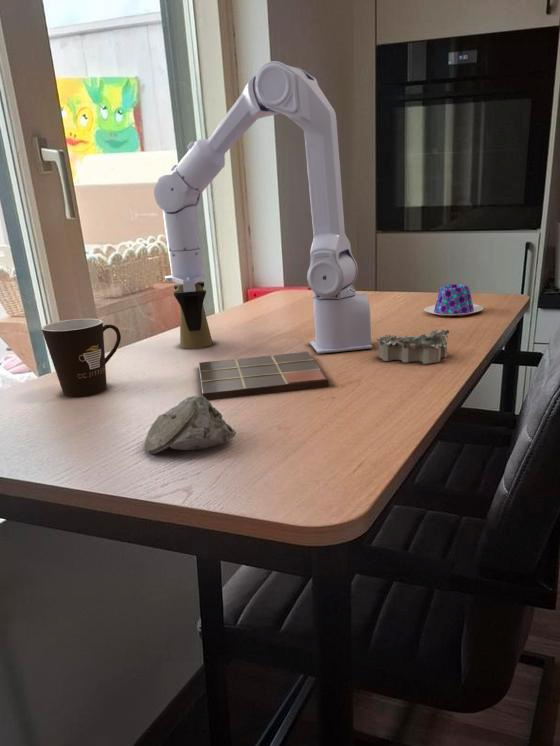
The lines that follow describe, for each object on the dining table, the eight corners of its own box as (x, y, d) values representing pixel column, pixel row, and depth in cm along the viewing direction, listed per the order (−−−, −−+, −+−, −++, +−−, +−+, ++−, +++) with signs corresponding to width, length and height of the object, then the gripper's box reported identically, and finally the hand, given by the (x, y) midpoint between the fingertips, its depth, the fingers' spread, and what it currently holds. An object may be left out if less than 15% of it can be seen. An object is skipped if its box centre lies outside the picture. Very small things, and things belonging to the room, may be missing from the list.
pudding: (440, 305, 152) (440, 280, 150) (492, 308, 145) (494, 282, 143) (413, 315, 143) (413, 289, 141) (468, 319, 137) (469, 292, 134)
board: (307, 357, 117) (307, 350, 116) (328, 386, 101) (328, 379, 100) (199, 368, 114) (198, 361, 114) (203, 400, 98) (202, 392, 98)
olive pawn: (206, 348, 127) (198, 286, 123) (175, 348, 128) (166, 287, 124) (217, 340, 133) (210, 281, 128) (187, 341, 134) (179, 282, 129)
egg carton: (452, 354, 113) (453, 329, 112) (434, 366, 107) (435, 339, 106) (392, 349, 118) (392, 325, 117) (372, 360, 113) (371, 335, 111)
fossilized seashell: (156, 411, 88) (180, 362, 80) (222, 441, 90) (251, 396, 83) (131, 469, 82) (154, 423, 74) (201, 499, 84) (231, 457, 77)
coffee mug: (60, 403, 101) (45, 333, 97) (51, 389, 108) (37, 324, 104) (140, 388, 106) (129, 321, 101) (126, 376, 113) (115, 313, 108)
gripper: (162, 247, 130) (172, 321, 135) (160, 255, 116) (172, 336, 122) (200, 244, 131) (209, 317, 136) (203, 251, 117) (212, 332, 123)
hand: (194, 326), depth 129 cm, fingers open, 7 cm apart
